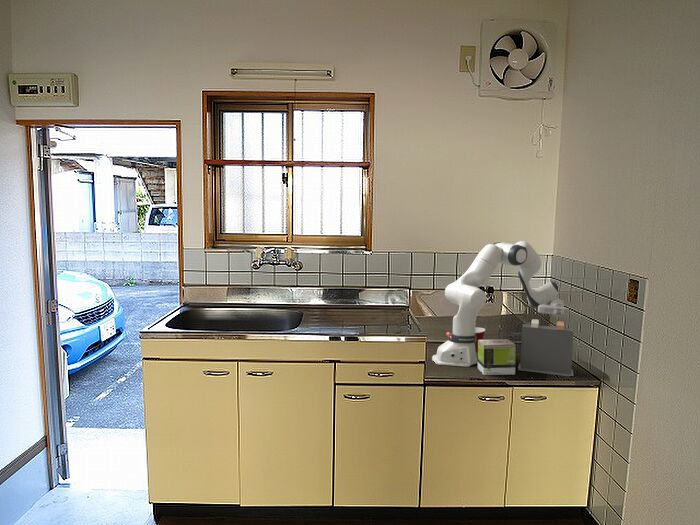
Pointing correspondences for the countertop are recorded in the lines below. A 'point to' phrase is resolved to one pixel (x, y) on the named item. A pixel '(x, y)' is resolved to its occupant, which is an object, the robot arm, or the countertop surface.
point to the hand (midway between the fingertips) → (558, 313)
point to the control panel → (546, 350)
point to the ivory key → (535, 323)
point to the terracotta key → (560, 325)
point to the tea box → (496, 357)
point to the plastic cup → (479, 336)
